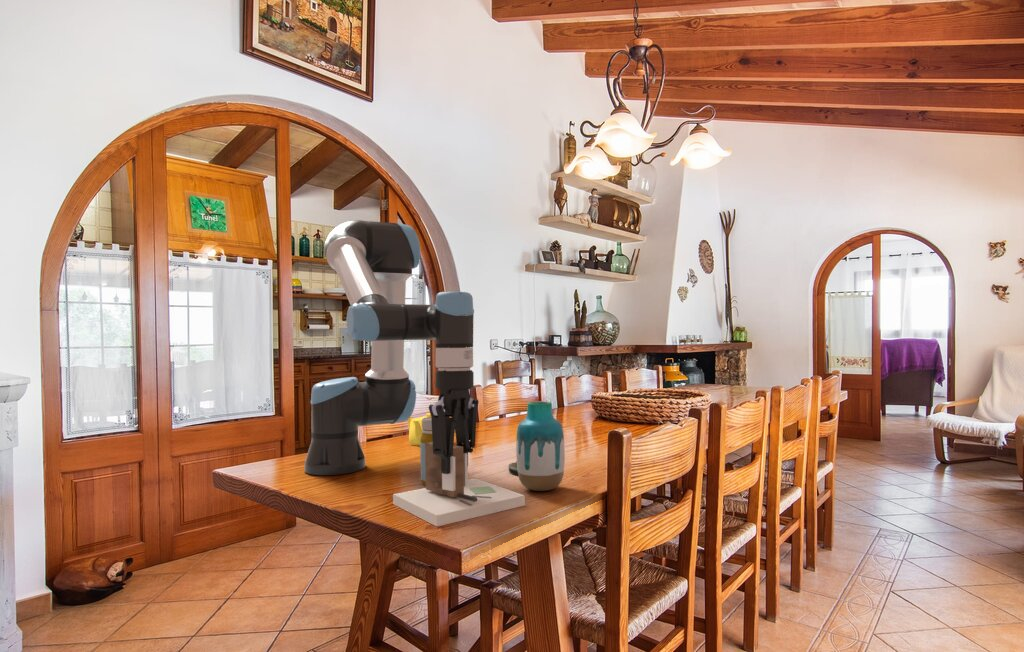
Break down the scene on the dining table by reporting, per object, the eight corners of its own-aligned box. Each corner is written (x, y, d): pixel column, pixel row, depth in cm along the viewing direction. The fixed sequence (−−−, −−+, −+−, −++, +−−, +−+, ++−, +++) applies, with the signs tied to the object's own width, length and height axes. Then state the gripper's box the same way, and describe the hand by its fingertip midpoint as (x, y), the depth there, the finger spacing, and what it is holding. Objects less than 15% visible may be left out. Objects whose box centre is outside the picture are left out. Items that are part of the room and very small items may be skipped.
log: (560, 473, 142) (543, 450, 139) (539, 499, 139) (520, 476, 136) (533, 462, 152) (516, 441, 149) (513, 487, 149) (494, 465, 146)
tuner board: (393, 504, 117) (393, 493, 117) (475, 487, 129) (475, 477, 129) (436, 526, 103) (436, 514, 103) (524, 505, 115) (524, 494, 115)
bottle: (445, 487, 129) (444, 420, 129) (416, 486, 131) (415, 420, 131) (455, 480, 136) (454, 416, 136) (427, 479, 137) (426, 416, 138)
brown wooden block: (423, 490, 118) (423, 443, 118) (437, 486, 121) (437, 441, 121) (468, 503, 108) (468, 452, 109) (482, 499, 111) (482, 449, 111)
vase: (529, 498, 119) (527, 406, 120) (509, 486, 129) (508, 401, 129) (574, 492, 124) (572, 403, 124) (551, 481, 133) (549, 398, 134)
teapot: (458, 445, 179) (457, 414, 179) (413, 449, 174) (412, 417, 174) (445, 438, 193) (445, 409, 193) (403, 442, 187) (403, 412, 188)
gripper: (443, 371, 106) (443, 500, 105) (493, 367, 120) (493, 481, 119) (412, 370, 110) (412, 494, 109) (464, 367, 124) (464, 476, 123)
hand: (454, 487), depth 114 cm, fingers closed on brown wooden block, 3 cm apart
